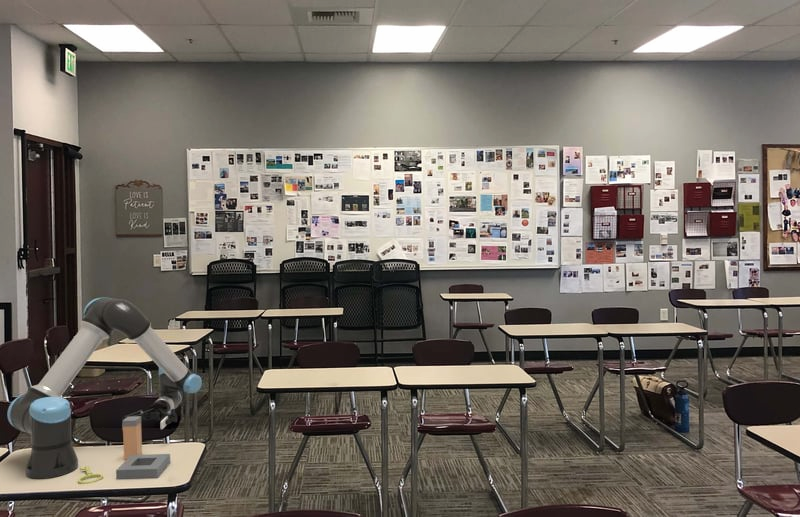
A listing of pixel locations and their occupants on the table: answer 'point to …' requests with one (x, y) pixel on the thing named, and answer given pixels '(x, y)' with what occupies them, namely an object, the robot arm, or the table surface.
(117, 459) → the table surface
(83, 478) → the key
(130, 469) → the socket block
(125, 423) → the plug
